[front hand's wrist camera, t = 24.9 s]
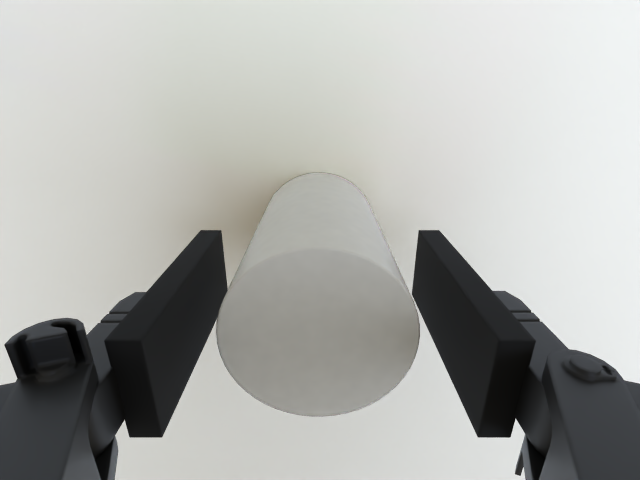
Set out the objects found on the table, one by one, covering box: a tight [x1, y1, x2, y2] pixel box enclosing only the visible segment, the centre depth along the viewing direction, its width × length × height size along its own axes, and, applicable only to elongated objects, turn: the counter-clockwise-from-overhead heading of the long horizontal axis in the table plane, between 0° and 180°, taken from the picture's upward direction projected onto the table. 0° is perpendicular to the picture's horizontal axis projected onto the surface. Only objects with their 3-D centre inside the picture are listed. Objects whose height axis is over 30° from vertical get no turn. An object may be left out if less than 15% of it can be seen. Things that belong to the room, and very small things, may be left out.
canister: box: [216, 173, 420, 416], centre depth 14 cm, size 5×5×9 cm
